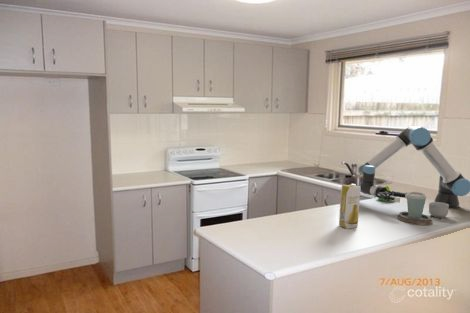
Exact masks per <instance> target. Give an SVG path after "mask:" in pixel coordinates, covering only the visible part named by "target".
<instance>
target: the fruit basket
mask: <svg viewBox="0 0 470 313" xmlns="http://www.w3.org/2000/svg"><path fill="white" fill-rule="evenodd" d="M383 187H385V188H386V189H387V190H388V191H391V189H390V187H389V185H385V186H383ZM377 199H378V200H379V201H383V202H391V203H392V202H393V201H391V200H390V199H389V201H387V199H386V200H384V199H381V198H378V197H377Z"/></svg>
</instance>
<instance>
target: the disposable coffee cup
mask: <svg viewBox="0 0 470 313" xmlns="http://www.w3.org/2000/svg"><path fill="white" fill-rule="evenodd" d="M406 193H407V195H406V197H407V199H406V204H407V206H406V207H407V212H408V216H409V218H412V219H421V217H422V214H424V213H423V212H424V208H425V204H426V199H427V196H426V194H425V193H423V192H420V191H419V192H417V191H410V192H406Z"/></svg>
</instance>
